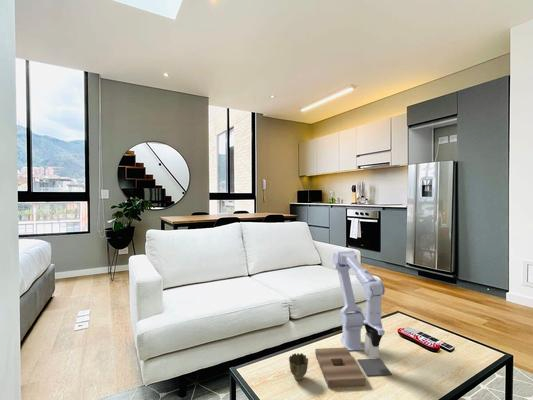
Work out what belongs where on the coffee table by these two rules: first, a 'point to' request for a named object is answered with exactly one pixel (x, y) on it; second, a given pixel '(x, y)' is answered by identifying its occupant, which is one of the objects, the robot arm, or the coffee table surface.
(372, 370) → the mat
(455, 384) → the coffee table surface
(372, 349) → the plug
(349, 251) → the robot arm
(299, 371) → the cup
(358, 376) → the brown wooden socket board
